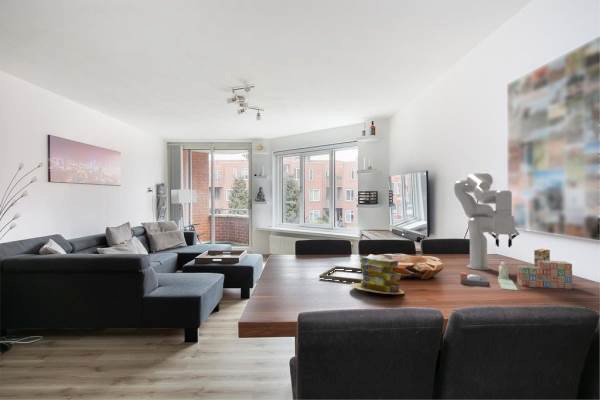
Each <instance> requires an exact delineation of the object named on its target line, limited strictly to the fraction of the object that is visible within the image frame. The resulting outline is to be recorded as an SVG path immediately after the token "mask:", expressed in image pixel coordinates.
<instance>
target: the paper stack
mask: <svg viewBox="0 0 600 400" xmlns="http://www.w3.org/2000/svg"><path fill="white" fill-rule="evenodd" d="M359 262H360V268H361V270H362V273H361V275H362V279H363V280H361V283H349V286H350V287H351V288H355V289H357V290H361V291H364V293H365V294H366V293H367V292H372V293H378V294H387V295H388V294H390V295H401V294H404V293H405V291H403V290H402V289H400V283H398V282H397V281H400V280H401V277H402V273H400V272H393V268H398V265H399V260H398V259H396V260H395V259H389V258H385V257H384V258H383V257H381V256H378V255H376V254H375V255H374V254H371V253H370V254H368V256H367V255H365V256H364V255H363V256H360V260H359Z"/></svg>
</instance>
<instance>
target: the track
mask: <svg viewBox="0 0 600 400" xmlns="http://www.w3.org/2000/svg"><path fill="white" fill-rule="evenodd" d="M497 281H498V283H499V287H500V288H501V290H506V291H507V290H508V291H515V292H516V291H517V292H518V291H519V289H518V288H517V286H516V285H515V283H514V281H513V280H512V279H510V278H509V279H499V278H498V277H497Z"/></svg>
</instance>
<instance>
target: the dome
mask: <svg viewBox="0 0 600 400" xmlns="http://www.w3.org/2000/svg"><path fill="white" fill-rule="evenodd" d="M467 275H468V276H467V279H472V280H481V277H479V276H480V275H477V274H467Z"/></svg>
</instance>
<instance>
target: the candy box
mask: <svg viewBox="0 0 600 400" xmlns="http://www.w3.org/2000/svg"><path fill="white" fill-rule="evenodd" d="M533 253H534V258H533V260H534V266H537V260H541V261H551V250H550V249H548V248H540V249H534V250H533Z"/></svg>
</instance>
